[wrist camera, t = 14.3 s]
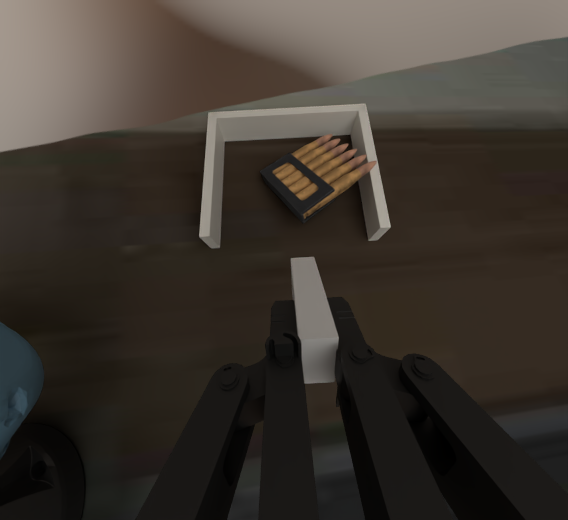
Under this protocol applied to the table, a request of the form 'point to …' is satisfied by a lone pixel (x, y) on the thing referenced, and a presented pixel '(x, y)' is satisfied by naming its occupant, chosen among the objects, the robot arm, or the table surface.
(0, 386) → the robot arm
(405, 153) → the table surface
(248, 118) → the box
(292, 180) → the ammunition clip
